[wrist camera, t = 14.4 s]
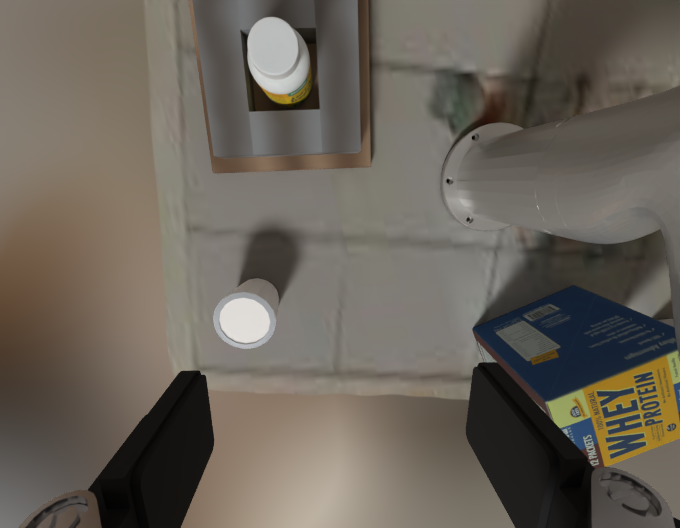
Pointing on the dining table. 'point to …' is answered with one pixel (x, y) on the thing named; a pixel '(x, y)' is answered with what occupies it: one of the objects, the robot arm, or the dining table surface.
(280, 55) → the supplement bottle
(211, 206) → the dining table surface
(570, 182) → the robot arm
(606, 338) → the protein box
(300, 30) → the holder
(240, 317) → the white and grey cylinder
